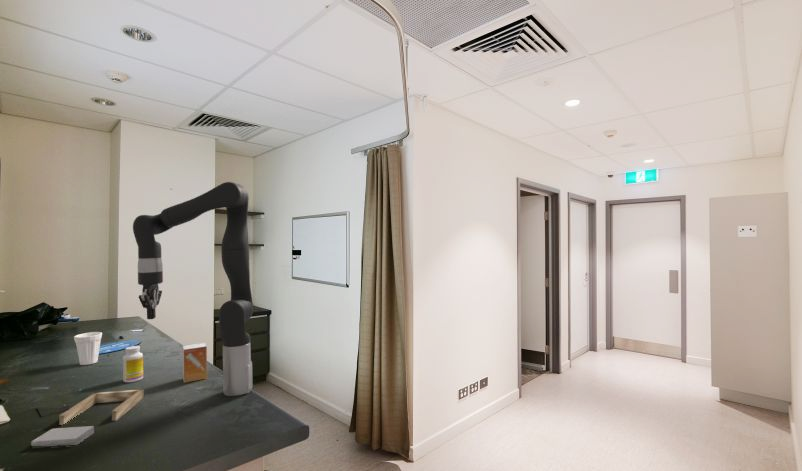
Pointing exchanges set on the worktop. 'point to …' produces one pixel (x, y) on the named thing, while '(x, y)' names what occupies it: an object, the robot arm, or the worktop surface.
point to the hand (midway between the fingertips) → (151, 318)
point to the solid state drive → (63, 407)
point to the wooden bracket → (127, 396)
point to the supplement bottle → (132, 364)
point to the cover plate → (63, 436)
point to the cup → (88, 347)
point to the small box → (194, 362)
